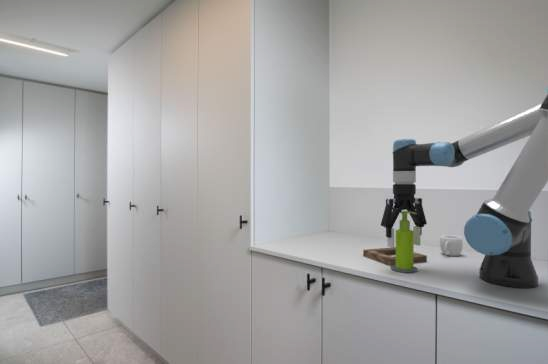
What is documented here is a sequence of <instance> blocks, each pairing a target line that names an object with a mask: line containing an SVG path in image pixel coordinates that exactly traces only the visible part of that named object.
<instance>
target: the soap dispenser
mask: <svg viewBox="0 0 548 364" xmlns="http://www.w3.org/2000/svg"><path fill="white" fill-rule="evenodd" d="M409 213H412V214H417V213H416V212H411V211H407V210H402V211H401V212H400V213H399V214H401V219H400V220H399V229H396V230H395V247H396V255H395V256H396V268H399V269H404V270H411V269H413V266H414V263H413V252H414V249H415V247H414V245H415V244H414V231H413V229H411V228H410V227H411V221H410V220H408V214H409Z"/></svg>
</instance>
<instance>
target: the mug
mask: <svg viewBox="0 0 548 364" xmlns="http://www.w3.org/2000/svg"><path fill="white" fill-rule="evenodd" d="M439 246H440V250H441V253H442V254H443V255H445V256H449V257H459V256H460V255H461V254H462V251H463V246H464V243H463V238H462V237H461V236H460V235H454V234H442V235H441V236H440V237H439Z"/></svg>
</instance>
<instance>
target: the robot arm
mask: <svg viewBox="0 0 548 364" xmlns="http://www.w3.org/2000/svg"><path fill="white" fill-rule="evenodd" d="M546 89H547V92H546V93H547V95H546V96H545V97H544V99H543V101H542V102H541V103H538V104H536V105H534V106H532V107H530V108H527V109H525V110H522V111H520V112H518V113H516V114H514V115H511V116H509V117H507V118H505V119H503V120H500V121H498V122H496V123H493V124H492V125H489V126H486V127H485V128H483V129H480V130H478V131H476V132H474V133H471V134H470V135H467V136H465V137H463V138H460V139H458V140H456V141H454V142H452V143H451V142H449V141H437V142H430V143H417V141H416V139H414V138H413V139H412V138H404V139H403V138H402V139H396V140H394V141H393V144H392V145H393V146H392V158H393V159H392V168H393V169H392V171H393V172H392V182H393V184H392V194H393V198H386V199H385V207H384V211H383V214H382V215H383V216H382V219H381V223H380V226H381V227H383V228H385V237H386V238H387V241H386V242H387V247H388V248H391V247H392V248H394V247H395V228H394V225H395V223H396V221H397V219H398V218H399V216H400V214H401V213H400V212H401V211H411V212H416V213H417V214H412V213H408V214H409V215H410V218H411V220H412V221H413V224H414V225H415V226H414V225H413V227H412V231H414V245H416V246H421V236H422V234H423V233H422V231H423V230H422V228H424V227H425V226H426V225H427V218H426V215H425V211H424V208H423V198H421V197H415V195H416V191H417V189H416V186H417V185H416V184H415V183H416V182H417V180H416V179H417V178H416V177H417V176H416V175H417V174H416V171H417V169H416V167H432V166H433V167H446V168H447V167H448V168H456V167H459V166H462V165H463V164H464V163H465V162H467V161H470V160H471V159H474V158H476V157H479V156H482V155H484V154H486V153H489V152H491V151H494V150H497V149H499V148H503V147H504V146H507V145H509V144H513V143H515V142H518V141H520V140H522V139H525V138H527V137H529V138H528V140H527V141H526V143H525V145H524V146H523V148H522V149H521V151H520V153H519V155H518V156H517V158H516V160H515V161H514V163H513V164H512V166H511V168H510V169H509V170H508V173H507V175H506V176H505V178H504V179H503V181H502V183H501V185H500V187H499V188H498V189H497V191H496V193H495V194H494V196H493V197H492V198H488V199H485V200H484V201H483V202H482V204H481V206H480V207H479V209H478V211H477V213H476V214H474V215H472V216H471V217H470V218H469V219H468V220H467V221H466V222H465V225H464V228H463V234H464V235H463V236H464V237H465V241H466V243H467V244H468V245H469V246H470V247H471V248H472V249H473V250H474V251H476V252H477V253H479V254H481V255H484V258H483V260H482V262H481V264H480V267H479V270H478V271H479V272H478V273H479V275H478V276H479V278H480V279H481V280H484V281H485V282H488V283H491V284H495V285H499V286H504V287H512V288H519V289H520V288H523V289H524V288H527V289H529V288H536V287H538V286H539V276H538V274H537V271H536V268H535V266H534V263H533V261H532V221H533V218H532V213H531V210H530V209H531V208H532V206H533V205H534V203H535V202H536V200H537V199H538V197H539V195H540V194H541V193H542V191H543V189H544V188H545V187H546V185H547V184H548V86H547V88H546Z"/></svg>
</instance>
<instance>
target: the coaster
mask: <svg viewBox="0 0 548 364" xmlns="http://www.w3.org/2000/svg"><path fill="white" fill-rule="evenodd" d="M390 270H391V271H394V272H397V273H401V274H402V273H403V274H414V273H417V272H418V271H419V269H418V267H416V266H414V265H413V269H411V270H404V269H399V268H396V265H392V266H390Z"/></svg>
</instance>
